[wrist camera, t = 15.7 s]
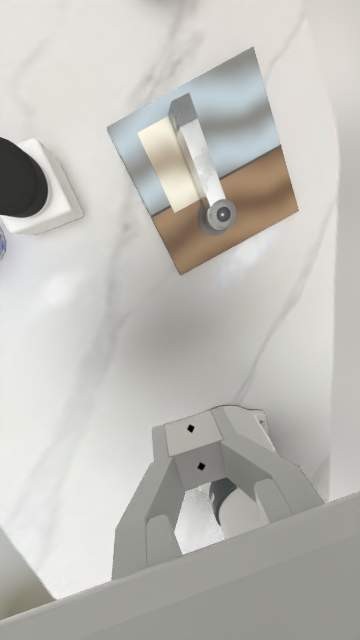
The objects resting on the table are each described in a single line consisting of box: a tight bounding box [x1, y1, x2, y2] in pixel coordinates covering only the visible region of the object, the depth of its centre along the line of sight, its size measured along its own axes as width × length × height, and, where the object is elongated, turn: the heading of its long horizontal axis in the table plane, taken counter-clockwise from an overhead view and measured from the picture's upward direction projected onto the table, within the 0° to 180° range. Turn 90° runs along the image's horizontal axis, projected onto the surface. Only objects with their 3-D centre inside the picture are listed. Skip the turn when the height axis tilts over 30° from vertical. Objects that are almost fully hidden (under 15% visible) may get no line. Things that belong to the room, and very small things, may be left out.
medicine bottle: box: [0, 137, 84, 235], centre depth 25 cm, size 7×7×12 cm
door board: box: [107, 47, 299, 275], centre depth 33 cm, size 20×20×1 cm
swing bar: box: [168, 93, 236, 230], centre depth 30 cm, size 15×4×3 cm, turn 25°
